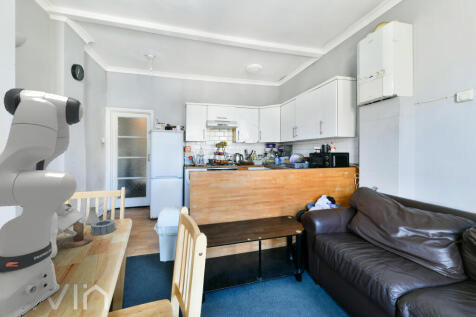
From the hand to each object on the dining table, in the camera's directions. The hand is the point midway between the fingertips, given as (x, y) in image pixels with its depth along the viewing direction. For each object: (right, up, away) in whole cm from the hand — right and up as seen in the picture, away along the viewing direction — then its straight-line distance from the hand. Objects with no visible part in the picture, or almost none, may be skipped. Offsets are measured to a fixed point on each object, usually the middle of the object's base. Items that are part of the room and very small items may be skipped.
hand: (79, 231), depth 98 cm
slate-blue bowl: (+2, -5, +14) cm, 15 cm away
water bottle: (-2, -6, -15) cm, 17 cm away
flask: (-12, -4, +26) cm, 29 cm away
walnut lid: (-1, -5, 0) cm, 5 cm away
